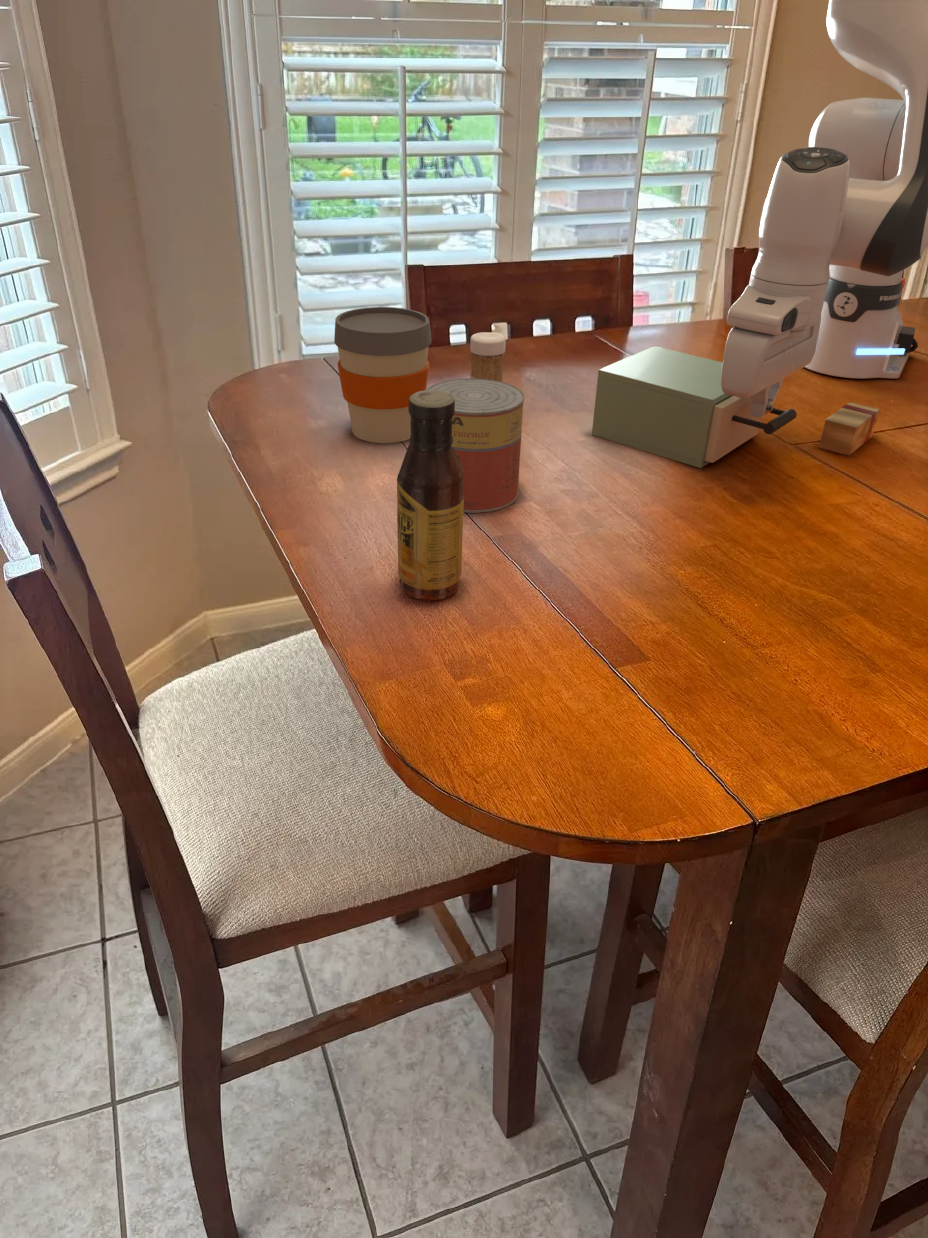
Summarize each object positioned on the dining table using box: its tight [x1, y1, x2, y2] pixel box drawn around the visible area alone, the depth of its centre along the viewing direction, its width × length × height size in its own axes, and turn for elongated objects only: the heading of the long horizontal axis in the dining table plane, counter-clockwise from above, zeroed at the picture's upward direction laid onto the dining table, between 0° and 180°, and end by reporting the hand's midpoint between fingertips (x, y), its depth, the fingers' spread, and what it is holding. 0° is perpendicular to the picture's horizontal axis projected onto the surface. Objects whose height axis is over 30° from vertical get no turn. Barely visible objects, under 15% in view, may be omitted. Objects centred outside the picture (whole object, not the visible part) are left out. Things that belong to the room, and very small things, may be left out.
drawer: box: [705, 395, 798, 464], centre depth 121 cm, size 21×13×7 cm, turn 50°
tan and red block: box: [818, 401, 881, 457], centre depth 125 cm, size 9×4×4 cm, turn 140°
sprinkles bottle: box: [469, 331, 507, 382], centre depth 121 cm, size 5×5×13 cm
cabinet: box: [591, 345, 731, 469], centre depth 124 cm, size 17×15×9 cm
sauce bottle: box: [396, 389, 464, 602], centre depth 86 cm, size 7×6×20 cm
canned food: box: [426, 377, 525, 514], centre depth 107 cm, size 11×11×12 cm
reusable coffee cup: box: [333, 306, 432, 444], centre depth 121 cm, size 13×12×15 cm
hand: (760, 413), depth 117 cm, fingers closed
